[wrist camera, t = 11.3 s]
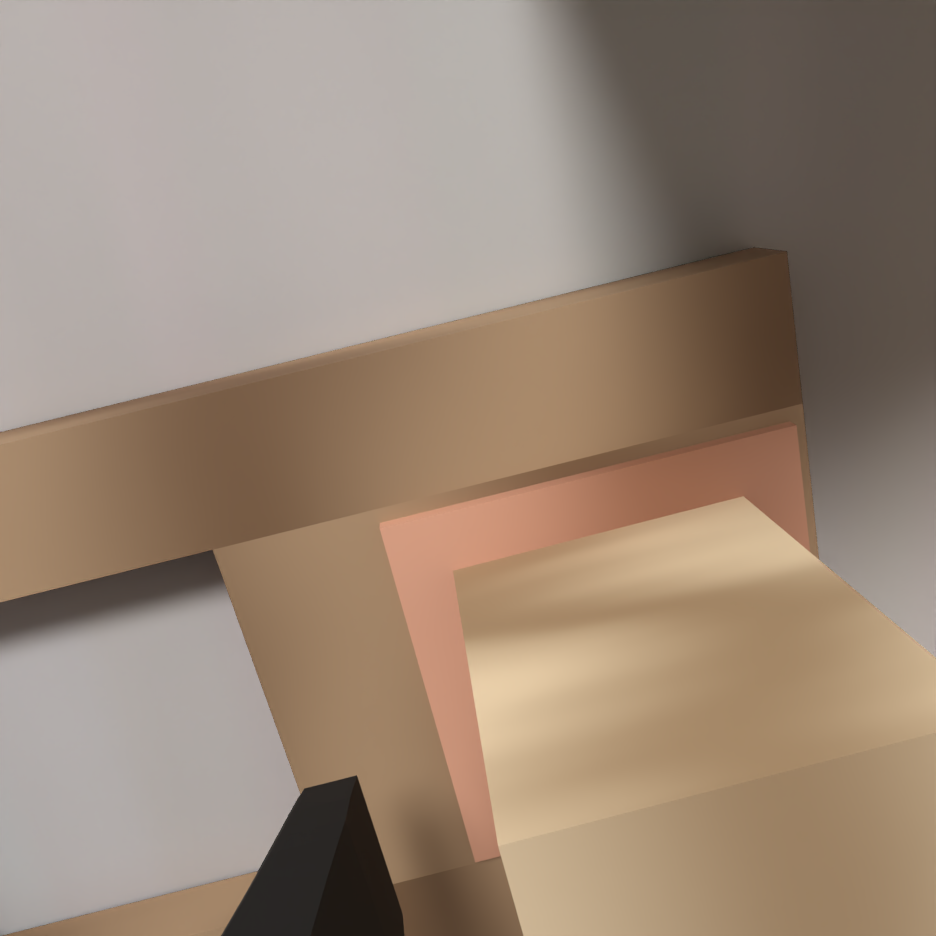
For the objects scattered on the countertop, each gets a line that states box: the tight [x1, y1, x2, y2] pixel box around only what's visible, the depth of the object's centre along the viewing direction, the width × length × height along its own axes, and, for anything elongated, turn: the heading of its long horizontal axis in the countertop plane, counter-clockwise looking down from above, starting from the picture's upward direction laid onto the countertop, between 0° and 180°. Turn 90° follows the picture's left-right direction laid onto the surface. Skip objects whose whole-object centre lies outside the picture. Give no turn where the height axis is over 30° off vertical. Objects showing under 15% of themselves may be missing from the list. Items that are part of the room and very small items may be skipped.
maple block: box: [453, 496, 936, 936], centre depth 9 cm, size 4×4×5 cm
